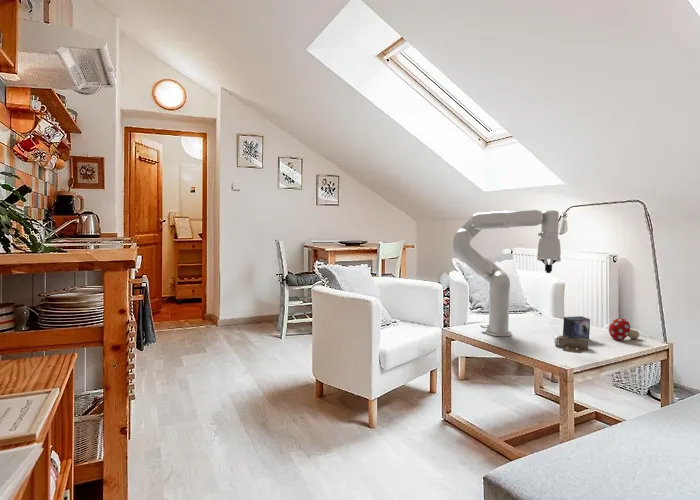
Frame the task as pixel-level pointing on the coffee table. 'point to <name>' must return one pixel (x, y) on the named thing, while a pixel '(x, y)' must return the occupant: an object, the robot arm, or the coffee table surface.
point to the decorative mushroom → (622, 330)
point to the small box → (576, 327)
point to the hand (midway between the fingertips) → (548, 272)
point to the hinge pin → (556, 340)
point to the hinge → (573, 343)
